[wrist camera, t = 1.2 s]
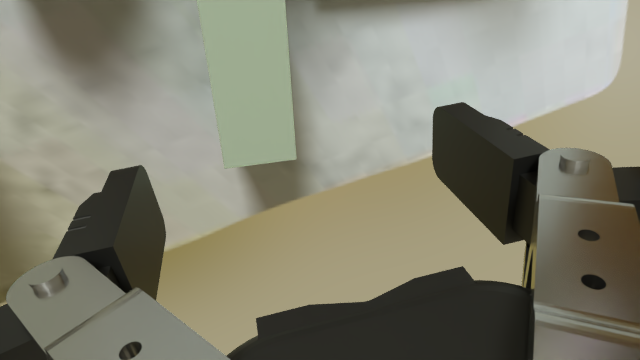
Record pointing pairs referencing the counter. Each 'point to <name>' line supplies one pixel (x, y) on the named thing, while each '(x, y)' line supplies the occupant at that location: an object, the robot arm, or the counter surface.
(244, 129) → the key block
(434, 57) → the counter surface
